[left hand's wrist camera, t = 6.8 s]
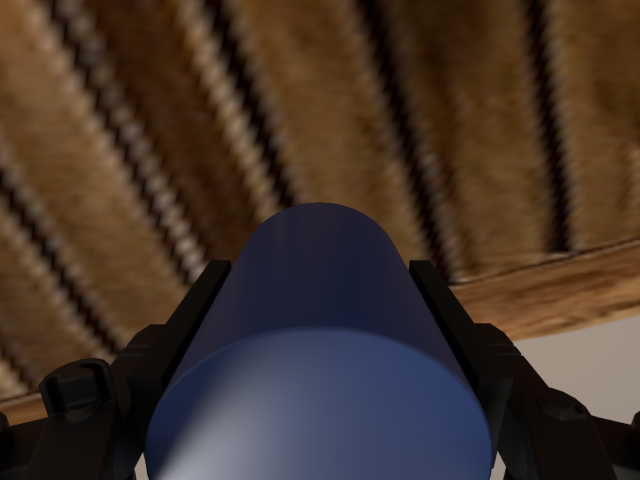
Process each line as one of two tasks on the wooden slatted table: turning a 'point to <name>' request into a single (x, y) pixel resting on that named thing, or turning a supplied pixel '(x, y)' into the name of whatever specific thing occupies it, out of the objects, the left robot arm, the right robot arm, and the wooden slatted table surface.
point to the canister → (319, 368)
